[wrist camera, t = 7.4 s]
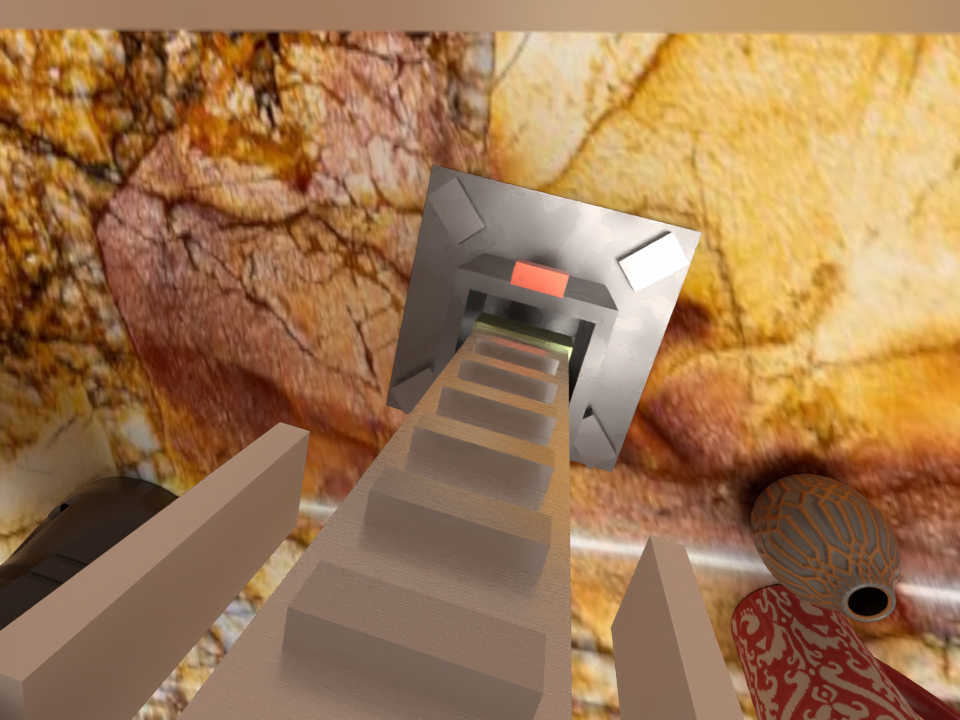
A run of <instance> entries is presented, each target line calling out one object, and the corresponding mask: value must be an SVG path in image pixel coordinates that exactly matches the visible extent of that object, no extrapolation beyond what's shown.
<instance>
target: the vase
mask: <svg viewBox="0 0 960 720" xmlns="http://www.w3.org/2000/svg"><path fill="white" fill-rule="evenodd" d="M751 531H752V536H753V541H754V544H755V546H756V549H757V551H758V553H759V555H760V557H761V559H762V561H763V562H764V564H765V565H766V567H767V568H768V570H769V571H770V572H771V573H772V575H773V576H774V577H775V578H776V579H777V580H778V581H779V582H780V583H781V584H782V585H783V586H785V587H786V588H787V589H788V590H789V591H791V592H792V593H793V594H795V595H796V596H798V597H799V598H801V599H803V600H805V601H807V602H809V603H811V604H813V605H816V606H819V607H822V608H825V609H829V610H834V611H838V612H842V613H844V614H845V615H847V616H849V617H850V618H852V619H854V620H857V621H861V622H875V621H879V620H881V619H884V618H885V617H887V616H888V615H889V614H891V612H892V611H893V610H894V608H895V605H896V596H895V591H894V589H895V586H896V583H897V580H898V577H899V573H900V565H901V558H900V551H899V547H898V544H897V541H896V538H895V536H894V533H893V531H892V529H891V527H890V526H889V524H888V522H887V521H886V519H885V518H884V516H883V515H882V514H881V513H880V511H879V510H878V509H877V508H876V507H875V506H874V505H873V504H872V503H871V502H870V501H869V500H867V499H866V498H865V497H864V496H863V495H861V494H860V493H859V492H857V491H856V490H855V489H853V488H851V487H849V486H848V485H846V484H844V483H842V482H840V481H837V480H834V479H832V478H829V477H825V476H821V475H816V474H795V475H791V476H787V477H783V478H781V479H778V480H776V481H775V482H773V483H771V484H770V485H769V486H767V487H766V488H765V489H764V490H763V491H762V492H761V493H760V495H759V496H758V498H757V499H756V501H755V503H754V506H753V509H752V514H751Z"/></svg>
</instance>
